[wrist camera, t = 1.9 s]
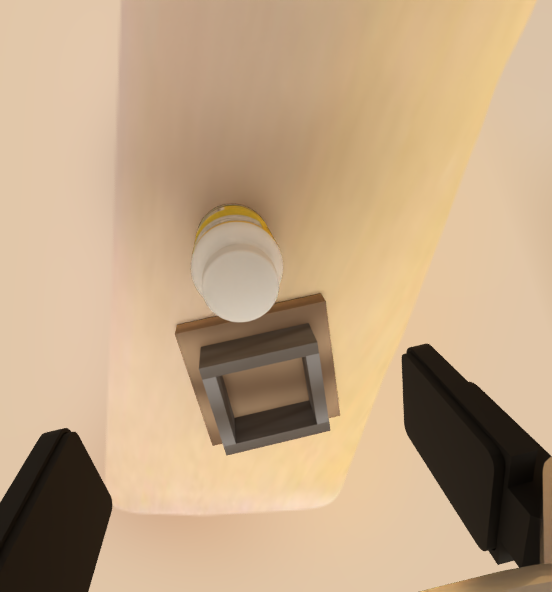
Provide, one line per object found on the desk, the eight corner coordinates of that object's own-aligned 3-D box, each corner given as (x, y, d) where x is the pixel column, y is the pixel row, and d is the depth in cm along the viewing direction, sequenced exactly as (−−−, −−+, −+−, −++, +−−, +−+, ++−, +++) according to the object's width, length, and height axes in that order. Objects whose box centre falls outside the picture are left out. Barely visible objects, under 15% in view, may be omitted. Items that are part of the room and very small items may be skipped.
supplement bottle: (264, 275, 29) (283, 338, 20) (194, 269, 28) (182, 332, 19) (274, 207, 27) (300, 243, 18) (199, 197, 26) (188, 230, 17)
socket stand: (177, 324, 30) (170, 355, 26) (320, 293, 30) (336, 318, 26) (213, 433, 35) (212, 473, 31) (335, 404, 35) (350, 439, 31)
